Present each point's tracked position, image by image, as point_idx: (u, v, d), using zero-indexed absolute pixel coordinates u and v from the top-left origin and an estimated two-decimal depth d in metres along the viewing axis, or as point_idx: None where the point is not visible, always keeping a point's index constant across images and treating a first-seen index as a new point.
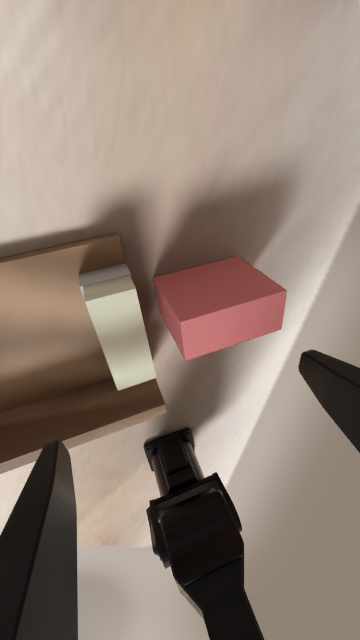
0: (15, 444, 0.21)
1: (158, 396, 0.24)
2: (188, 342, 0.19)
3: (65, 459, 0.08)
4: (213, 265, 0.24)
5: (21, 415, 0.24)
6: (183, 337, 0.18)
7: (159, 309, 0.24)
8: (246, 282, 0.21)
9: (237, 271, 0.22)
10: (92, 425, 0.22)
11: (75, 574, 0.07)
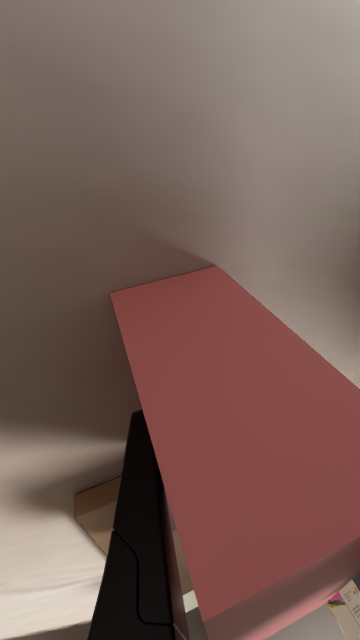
0: None
1: None
2: (279, 629, 0.08)
3: None
4: None
5: None
6: None
7: None
8: None
9: None
10: None
11: (171, 530, 0.08)
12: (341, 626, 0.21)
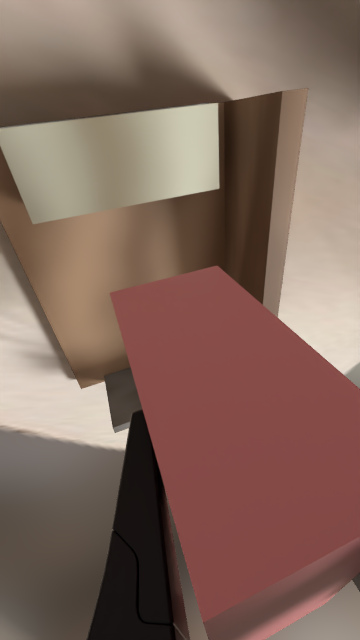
0: None
1: (266, 101, 0.12)
2: (280, 629, 0.08)
3: None
4: None
5: None
6: None
7: None
8: None
9: None
10: (263, 238, 0.15)
11: (171, 530, 0.08)
12: None
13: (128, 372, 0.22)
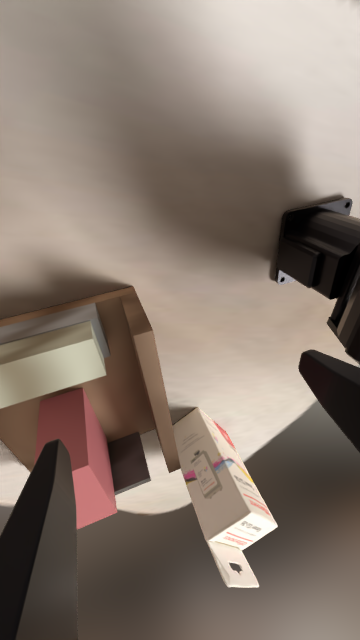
0: (157, 432, 0.24)
1: (130, 329, 0.17)
2: (96, 518, 0.22)
3: (65, 459, 0.08)
4: None
5: None
6: (90, 523, 0.22)
7: None
8: None
9: None
10: (148, 395, 0.20)
11: (75, 574, 0.07)
12: (190, 495, 0.26)
13: None
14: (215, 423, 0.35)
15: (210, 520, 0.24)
